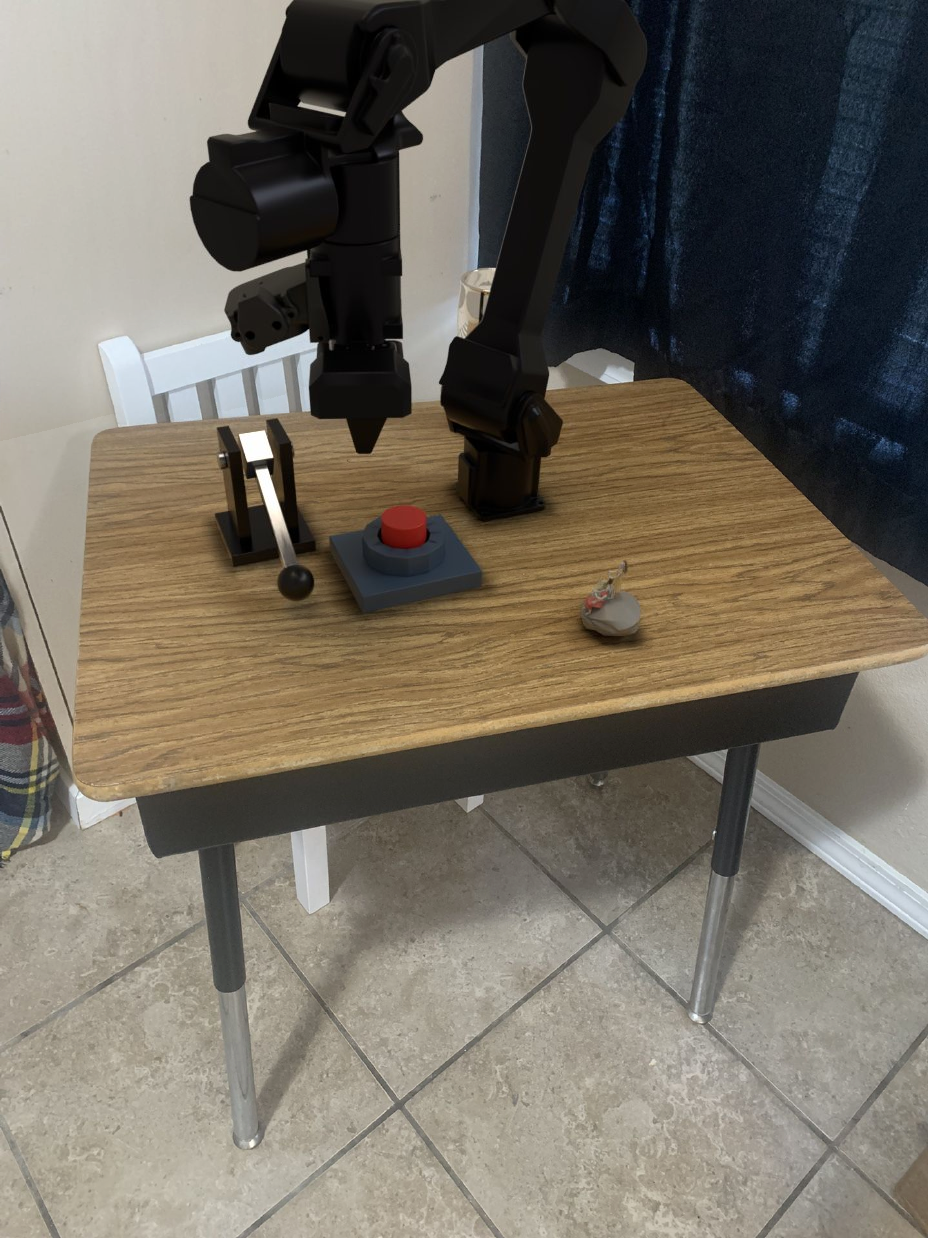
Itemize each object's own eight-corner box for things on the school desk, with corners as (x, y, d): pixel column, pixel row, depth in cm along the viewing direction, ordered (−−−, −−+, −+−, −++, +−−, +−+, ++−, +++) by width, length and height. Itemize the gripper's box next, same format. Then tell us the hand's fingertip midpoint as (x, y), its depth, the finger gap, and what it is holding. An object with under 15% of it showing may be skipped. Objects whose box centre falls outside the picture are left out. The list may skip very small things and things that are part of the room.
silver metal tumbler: (515, 443, 98) (526, 295, 89) (448, 435, 99) (451, 287, 90) (526, 413, 103) (537, 270, 94) (462, 405, 104) (466, 263, 95)
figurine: (647, 643, 74) (659, 579, 70) (593, 653, 73) (602, 588, 69) (619, 602, 78) (629, 539, 74) (567, 611, 77) (575, 547, 73)
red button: (417, 522, 80) (417, 501, 79) (433, 545, 78) (433, 524, 76) (375, 531, 79) (374, 509, 78) (390, 554, 77) (389, 532, 75)
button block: (440, 530, 85) (441, 495, 83) (481, 587, 79) (483, 551, 77) (329, 552, 82) (327, 517, 80) (363, 614, 76) (361, 577, 73)
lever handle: (317, 603, 75) (320, 586, 73) (281, 611, 74) (283, 593, 72) (268, 448, 81) (269, 427, 78) (234, 453, 80) (234, 432, 77)
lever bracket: (316, 551, 82) (308, 447, 76) (233, 568, 80) (218, 462, 74) (294, 510, 87) (285, 409, 81) (215, 524, 85) (200, 421, 79)
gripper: (238, 189, 68) (260, 396, 78) (208, 283, 54) (240, 524, 63) (398, 190, 69) (400, 394, 79) (411, 282, 55) (412, 519, 64)
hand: (363, 451), depth 71 cm, fingers closed
